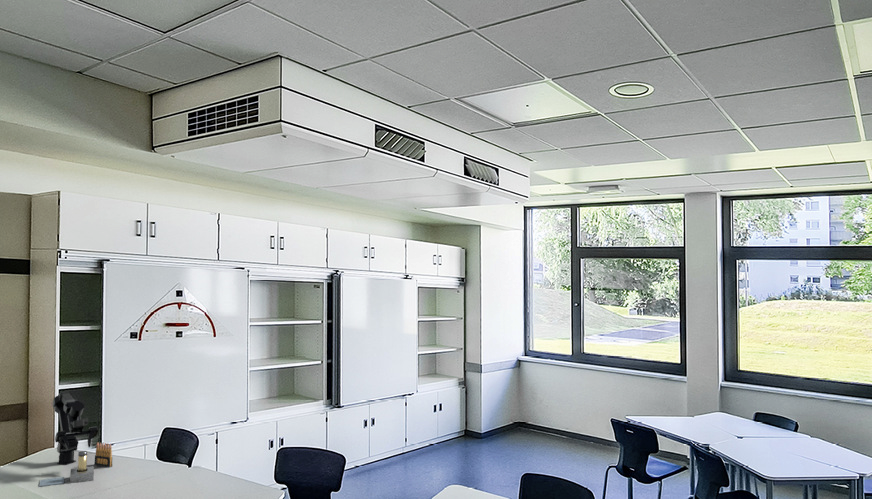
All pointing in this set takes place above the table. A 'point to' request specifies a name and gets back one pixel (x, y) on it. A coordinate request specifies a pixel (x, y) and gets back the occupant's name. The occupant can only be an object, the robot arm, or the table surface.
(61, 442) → the robot arm
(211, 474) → the table surface
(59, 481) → the rubber mat
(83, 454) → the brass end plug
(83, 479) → the metal housing
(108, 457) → the ammunition clip
